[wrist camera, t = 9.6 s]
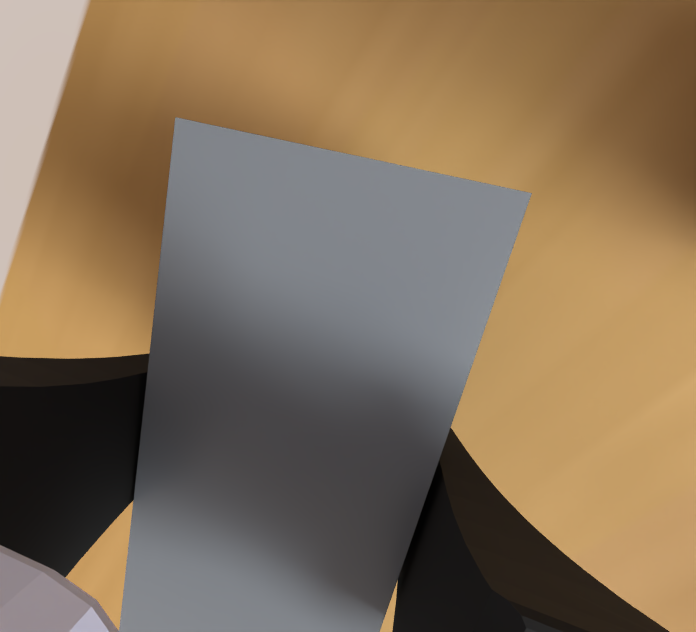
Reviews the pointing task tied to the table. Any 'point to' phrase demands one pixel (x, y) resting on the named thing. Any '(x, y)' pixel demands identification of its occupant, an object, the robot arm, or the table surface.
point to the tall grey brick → (301, 379)
